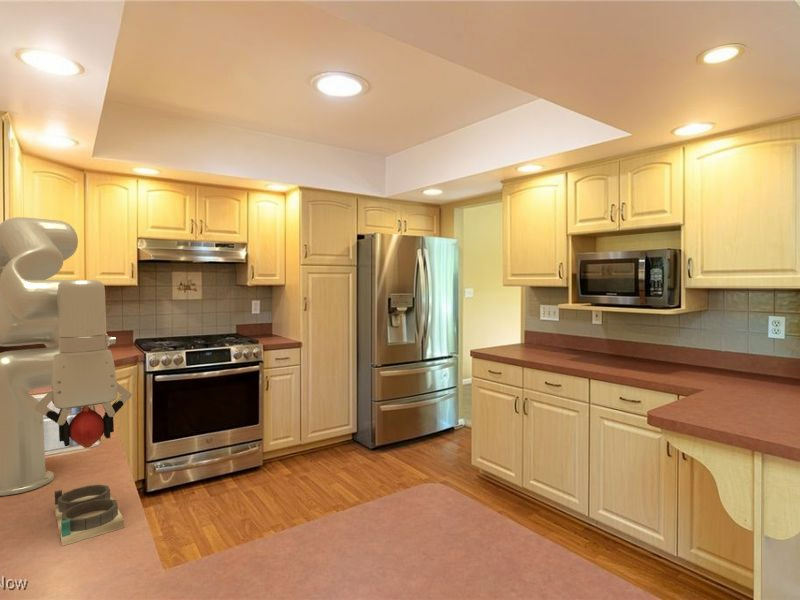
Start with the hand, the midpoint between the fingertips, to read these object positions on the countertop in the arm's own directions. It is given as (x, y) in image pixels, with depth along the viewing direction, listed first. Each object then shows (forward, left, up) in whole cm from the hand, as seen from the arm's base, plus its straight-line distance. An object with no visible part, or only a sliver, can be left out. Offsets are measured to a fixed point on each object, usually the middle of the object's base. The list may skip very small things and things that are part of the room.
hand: (87, 439), depth 90 cm
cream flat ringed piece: (-5, 0, -17) cm, 17 cm away
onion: (0, 0, -2) cm, 2 cm away
